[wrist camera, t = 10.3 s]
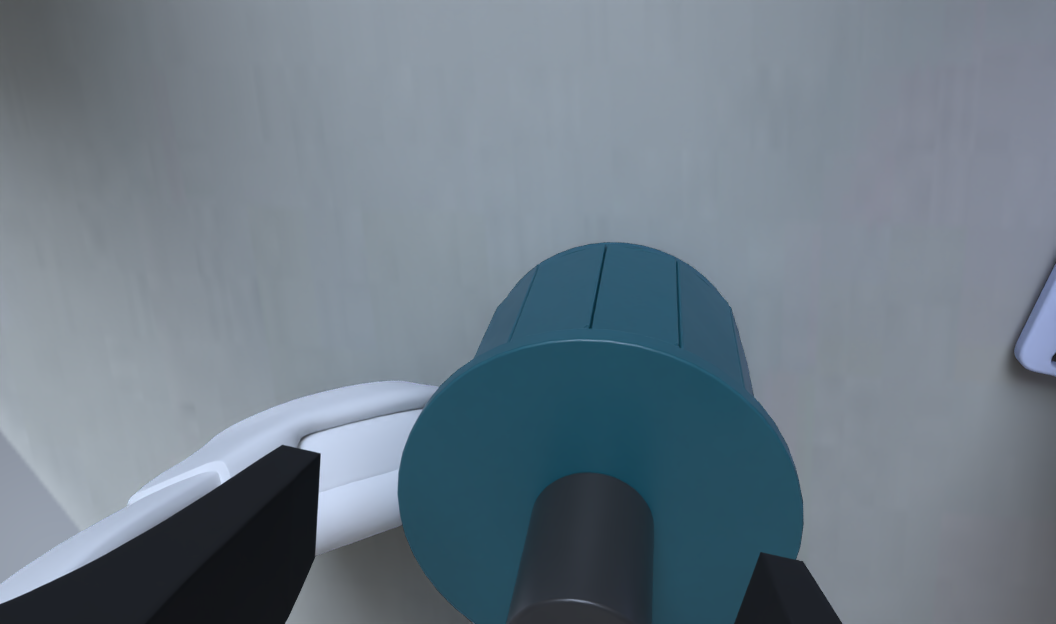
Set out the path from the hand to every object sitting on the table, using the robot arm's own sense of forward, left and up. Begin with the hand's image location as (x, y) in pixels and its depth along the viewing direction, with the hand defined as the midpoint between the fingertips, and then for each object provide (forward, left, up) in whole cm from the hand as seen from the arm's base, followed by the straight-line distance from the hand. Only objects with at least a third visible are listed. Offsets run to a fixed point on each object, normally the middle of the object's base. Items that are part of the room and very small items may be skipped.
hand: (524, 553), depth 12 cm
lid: (-1, +2, -4) cm, 5 cm away
